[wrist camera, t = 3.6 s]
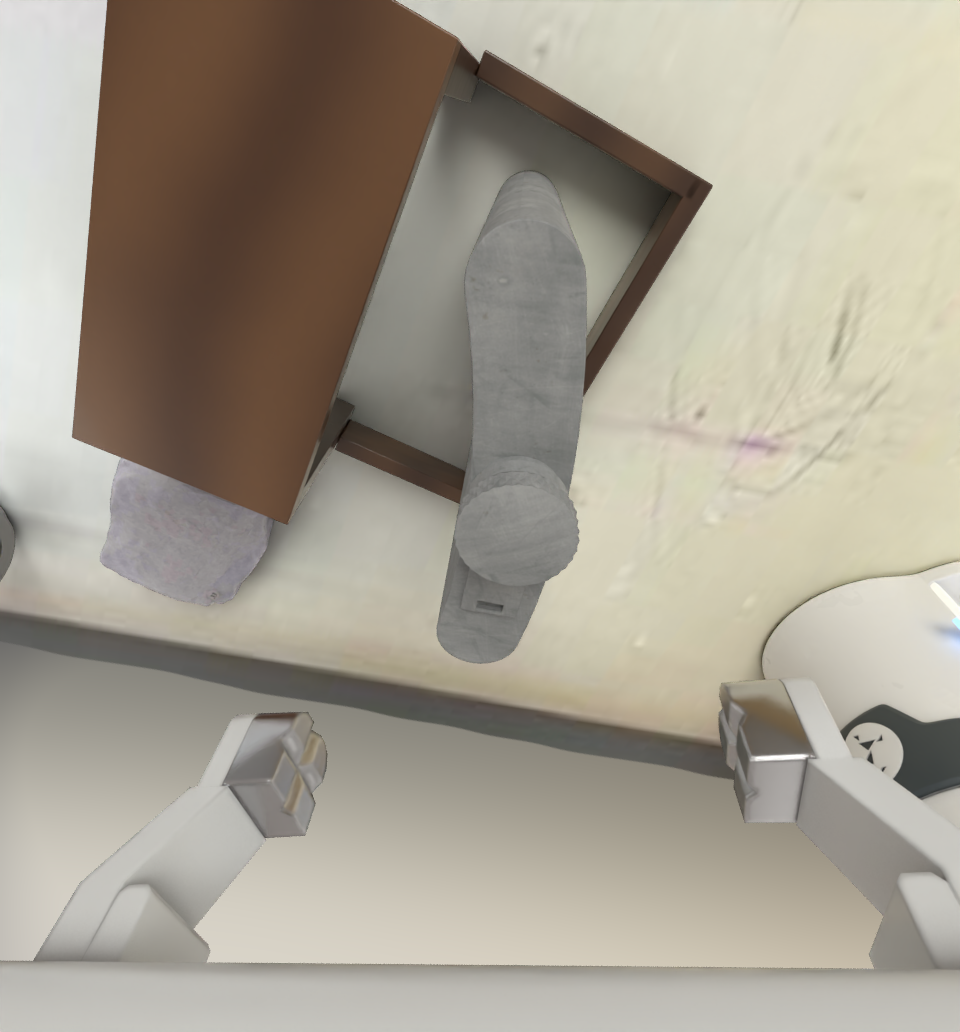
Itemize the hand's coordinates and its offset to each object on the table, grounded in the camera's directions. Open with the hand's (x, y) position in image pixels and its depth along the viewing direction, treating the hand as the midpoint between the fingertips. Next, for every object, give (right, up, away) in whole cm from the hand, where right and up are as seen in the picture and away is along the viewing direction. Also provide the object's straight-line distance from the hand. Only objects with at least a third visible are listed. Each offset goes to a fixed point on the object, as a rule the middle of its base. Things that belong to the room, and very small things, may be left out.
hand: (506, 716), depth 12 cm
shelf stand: (-5, +17, +21) cm, 27 cm away
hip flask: (+2, +14, +22) cm, 26 cm away
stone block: (-20, +4, +31) cm, 37 cm away
